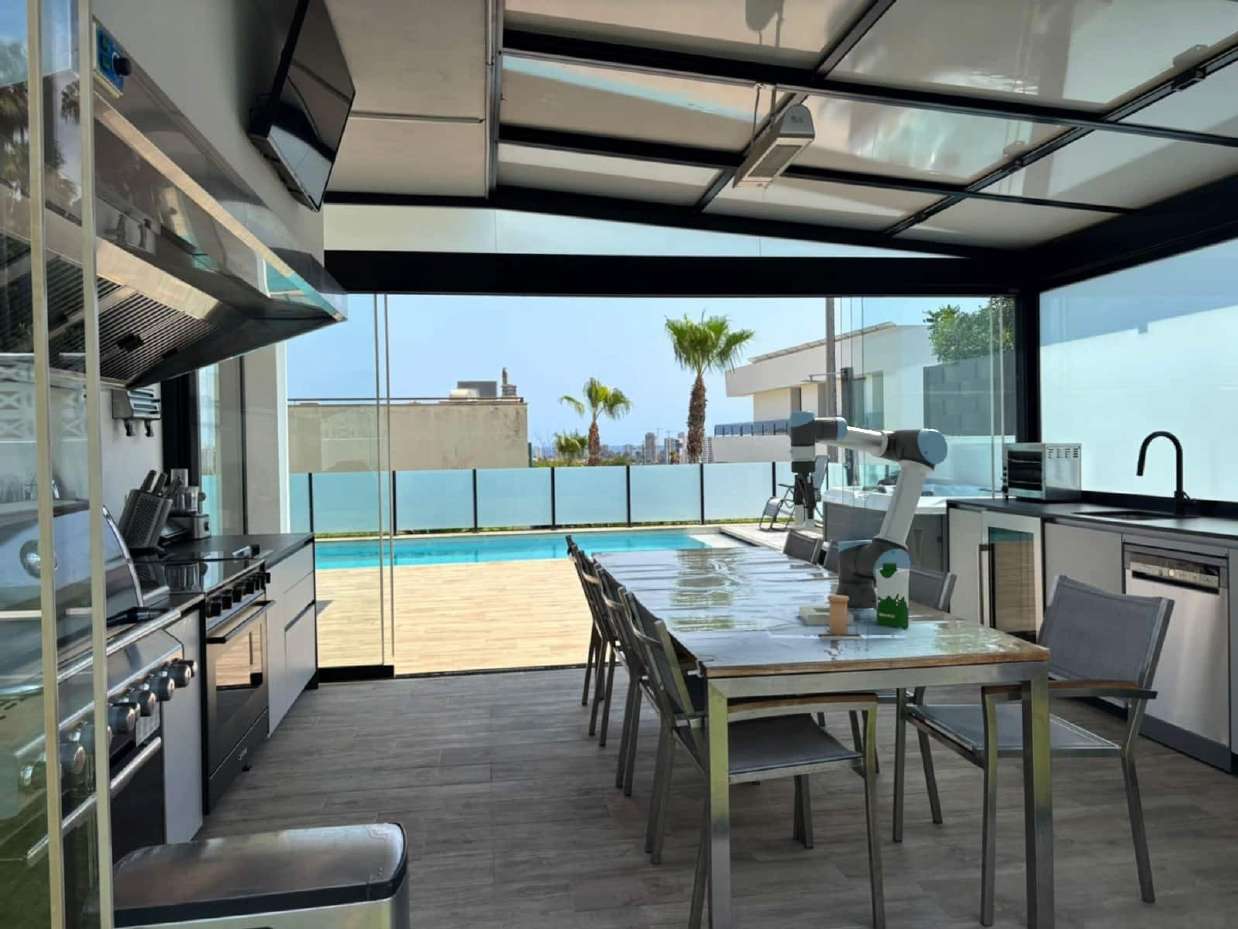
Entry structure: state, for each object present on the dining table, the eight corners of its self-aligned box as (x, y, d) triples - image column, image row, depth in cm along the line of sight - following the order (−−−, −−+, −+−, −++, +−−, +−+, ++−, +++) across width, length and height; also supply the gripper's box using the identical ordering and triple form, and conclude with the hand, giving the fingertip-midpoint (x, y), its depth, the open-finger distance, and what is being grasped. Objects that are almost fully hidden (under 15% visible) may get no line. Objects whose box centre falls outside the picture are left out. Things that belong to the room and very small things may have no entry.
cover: (845, 631, 249) (846, 595, 249) (850, 636, 243) (851, 599, 243) (825, 631, 249) (825, 594, 249) (830, 636, 243) (830, 598, 243)
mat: (853, 630, 252) (853, 629, 252) (863, 640, 240) (863, 638, 240) (813, 630, 253) (813, 629, 253) (821, 640, 241) (821, 638, 241)
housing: (842, 618, 270) (842, 606, 270) (853, 627, 256) (853, 614, 256) (799, 618, 271) (799, 606, 271) (807, 627, 257) (807, 615, 257)
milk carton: (872, 628, 256) (872, 563, 255) (885, 623, 262) (885, 559, 262) (900, 632, 250) (900, 565, 249) (913, 627, 256) (912, 562, 256)
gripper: (782, 459, 275) (784, 523, 276) (800, 461, 250) (802, 532, 251) (805, 458, 275) (806, 523, 276) (825, 460, 250) (827, 531, 251)
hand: (804, 527), depth 263 cm, fingers open, 13 cm apart
